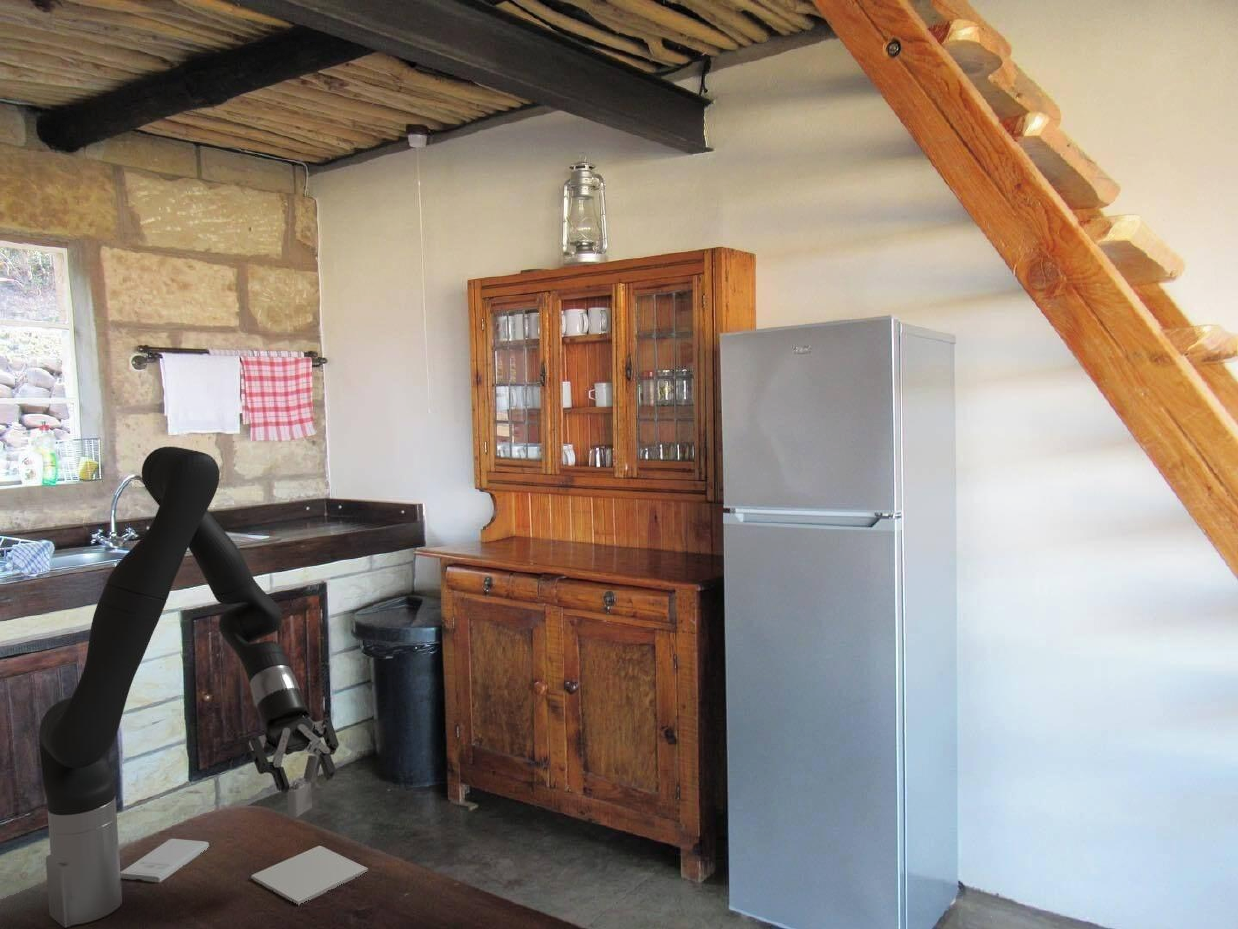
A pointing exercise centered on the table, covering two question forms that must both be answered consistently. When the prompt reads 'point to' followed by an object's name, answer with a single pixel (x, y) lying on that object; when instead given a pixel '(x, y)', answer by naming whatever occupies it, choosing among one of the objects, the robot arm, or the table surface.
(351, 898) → the table surface
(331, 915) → the table surface
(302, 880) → the mat
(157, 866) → the external hard drive
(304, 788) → the lighter
